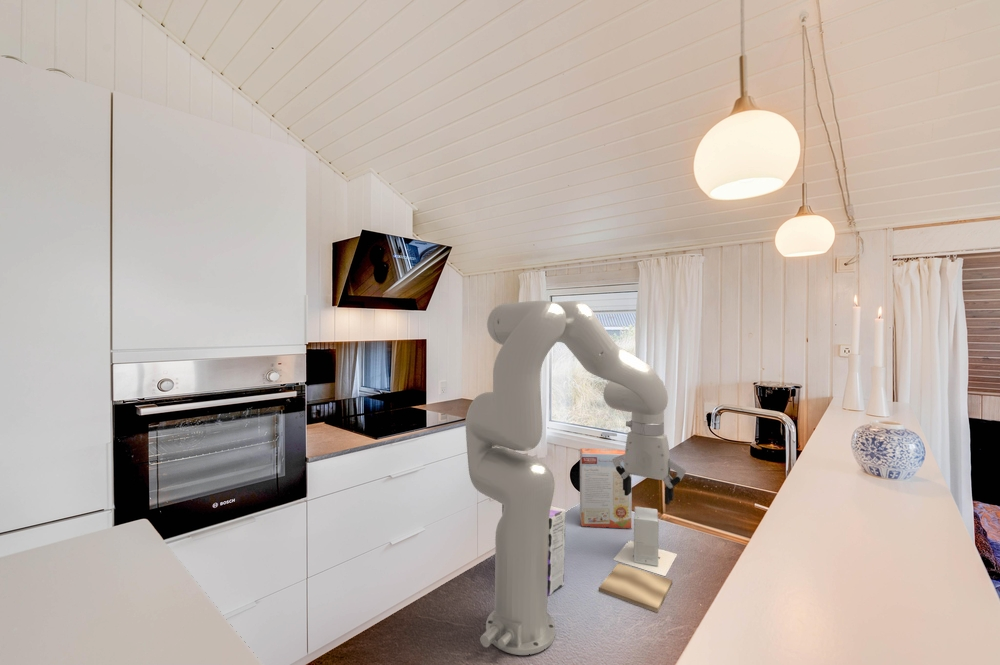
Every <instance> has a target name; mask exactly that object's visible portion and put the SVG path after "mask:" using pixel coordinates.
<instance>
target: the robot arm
mask: <svg viewBox="0 0 1000 665" xmlns="http://www.w3.org/2000/svg"><path fill="white" fill-rule="evenodd" d="M487 317H488V318H487V323H486V328H487V332H488V334H489V336H490V338H492V340H493V341H494V342H496V343H497V344H499V345H501V348H500V349H499V351H498V353H497V355H496V358H495V360H494V363H493V369H492V370H493V371H492V391H490V392H489V391H488V392H487V391H486V392H483V393H480V394H478V395H477V396H476V397H475V398H474V399H473V400H472V401H471V403H470V404H469V407H468V409H467V413H466V416H465V439H466V451H467V452H466V454H467V465H468V467H467V468H468V474H469V477H470V478H469V479H470V482H471V483H472V486H473V488H475V489H476V490H477V491H478V492H479V493H481V494H482V495H484V496H486V497H488V498H490V499H493V500H495V501H497V502H498V503H500V504H503V505H504V508H505V509H504V513H503V515H502V514H501V515H502V516H501V517H500V519H499V520H498V522H497V525H496V530H495V539H494V540H495V543H494V544H495V559H494V560H495V561H494V562H495V563H494V564H495V566H494V567H495V568H494V569H495V570H494V609H493V610H492V611H491V612H490V613H489V615H488V616H487V618H486V622H485V631H484V633H483V634H481V636H480V638H479V641H480V644H481V645H482V646H483V647H484V648H488V647H490V646H491V645H493V646H494V647H496V648H497V649H499V650H500V651H502V652H504V653H508V654H511V655H515V656H516V655H518V656H528V655H529V654H530V655H535V654H537V653H541V652H542V651H544V649H545V650H546V649H547V648H549V647H550V646H551V645H552V643H553V642H554V640H555V638H556V624H555V621H554V619H553V617H552V616H551V615H550V614H549V613H548V595H547V578H548V524H549V514H550V508H551V506H552V503H553V499H554V495H555V494H554V492H555V487H556V486H555V477H554V475H553V471H552V470H551V469H550V467H549V466H548V465H547V464H546V463H544V462H543V461H541V460H540V459H538V458H535V457H534V456H531V455H527V454H525V453H521V452H528V451H531V450H533V449H535V448H536V447H537V446H538V445H539V444H540V443H541V439H542V436H543V407H542V393H541V371H542V367H543V363H544V361H545V359H546V357H547V355H548V353H549V352H550V351H551V349H552V348H553V347H554V346H555V345H556V343H561V344H564V345H565V346H566V347H567V349H568V350H569V351H570V352H571V354H572V355H573V356H574V357H575V358H576V360H577V361H578V362H579V364H580V365H581V366H582V367H583V369H584V370H585V371H586V372H588V373H590V374H591V375H594V376H596V377H598V378H600V379H603V380H606V381H608V382H607V383H606V385H605V387H604V389H603V393H602V394H603V400H604V402H605V403H606V405H607V406H609V407H610V408H611V409H614V410H616V411H621V412H626V413H627V412H628V413H631V420H630V421H629V420H626V421H625V426H626V427H628V428H630V431H628V432H627V435H626V436H627V437H626V441H625V447H624V448H625V449H624V450H625V454H623V455H620V456H618V457H615V458H613V459H612V461H613V463H614V465H615V467H616V470H617V472H618V473H619V474H620V475H621V478H622V479H623V490H624V491H625V495H626V496H627V495H629V494H630V493H631V476H630V474H632V476H636V477H637V476H638V477H642V478H647V479H648V478H649V479H651V480H652V479H653V480H661V481H663V482H664V484H665V485H666V486H665V488H664V504H665V505H669V504H670V503H671V502H673V500H674V487H675V486H676V485H677V484H679V483H680V482H681V481H682V479H683V478H684V476H685V475H686V471H687V470H686V469H685V468H684V467H682V466H680V465H678V464H677V463H676V462H674V461H672V460H671V454H670V452H671V451H670V446H669V445H670V444H669V440H668V436H667V434H665V410H666V408H667V406H668V401H669V397H668V392H667V388H666V385H664V381H663V379H661V378H660V376H659V375H658V373H657V372H656V371H655V369H654V368H652V366H650V365H649V364H648V363H647V362H645V361H644V360H642V359H641V358H639V357H637V356H636V355H634V354H633V353H631V352H629V351H627V350H625V349H624V348H622V347H620V346H619V345H617V343H616V342H615V341H614V339H613V338H612V336H611V335H610V334H609V332H608V331H607V330H606V328H605V326H604V325H603V324H602V322H601V321H600V320H599V318H598V317H597V315H596V314H595V312H594V311H593V310H592V309H591V307H590V306H589V305H587V304H586V303H584V302H581V301H575V300H574V301H573V300H571V301H568V300H567V301H556V302H554V301H550V300H530V301H518V302H508V303H507V302H506V303H502V304H499V305H497V306H496V307H494V308H493V309H491V312H490V313H489V314H488V316H487ZM518 451H519V452H518ZM623 460H624V468H623V467H622V466H621V463H620V461H623ZM671 470H673V471H674V472H676V475H675V477H674V478H673V477H672V476H671V474H670V473H671ZM530 655H529V656H530Z"/></svg>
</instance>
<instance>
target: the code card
mask: <svg viewBox="0 0 1000 665" xmlns="http://www.w3.org/2000/svg"><path fill="white" fill-rule="evenodd" d="M627 542H628V543H627ZM627 542H626V543H625V545H623V547H622V548H621V549H620V551H618V553H617V554H616V555H615V557H613V559H612V560H613V561H615V562H618V563H620V564H623V565H627V566H630V567H633V568H636V569H639V570H642V571H645V572H649V573H652V574H655V575H658V576H661V577H666V576H667V574H668V572H669V571H670V569H671V567H672V565H673V563H674V562H675V560H676V557H677V556H678V554H677V553H674V552H671V551H668V550H664V549H661V548H658V566H655V565H649V564H642V563H636V562H634V540H630V542H629V540H628V541H627ZM627 544H628V545H627ZM624 547H625V548H624Z"/></svg>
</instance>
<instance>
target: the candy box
mask: <svg viewBox="0 0 1000 665" xmlns="http://www.w3.org/2000/svg"><path fill="white" fill-rule="evenodd" d="M501 504H502V503H501ZM501 506H502V507H501V508H502V509H501V512H502V513H501V515H503V513H504V509H505V508H504V505H503V504H502V505H501ZM565 538H566V509H565V508H560V507H557V506H554V505H551V508H550V514H549V524H548V578H547V596H551V595H552V594H554V593H555V592H556V591H559V589H561V588H562V587H564V586H565V554H566V553H565V545H566V544H565V542H566V539H565Z"/></svg>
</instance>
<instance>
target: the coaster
mask: <svg viewBox="0 0 1000 665" xmlns="http://www.w3.org/2000/svg"><path fill="white" fill-rule="evenodd" d="M672 586H673V579H670V578H668V577H665V576H662V575H659V574H655V573H652V572H649V571H646V570H643V569H640V568H637V567H633V566H630V565H627V564H624V563H621V562H618V563H617V564H616V565H615V567H613V569H612V570H611V572H610V573H609V574H608V576H607V577H606V578H605V579H604V580H603V582H602V583H601V584H600V585H599V587H598V592H600V593H603V594H606V595H608V596H611V597H614V598H616V599H619V600H622V601H625V602H628V603H630V604H633V605H636V606H639V607H641V608H643V609H646V610H650V611H652V612H654V613H659V611H660V609H661V608H662V605H663V603H664V601H665V599H666V597H667V596H668V594H669V592H670V589H671V587H672Z"/></svg>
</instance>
